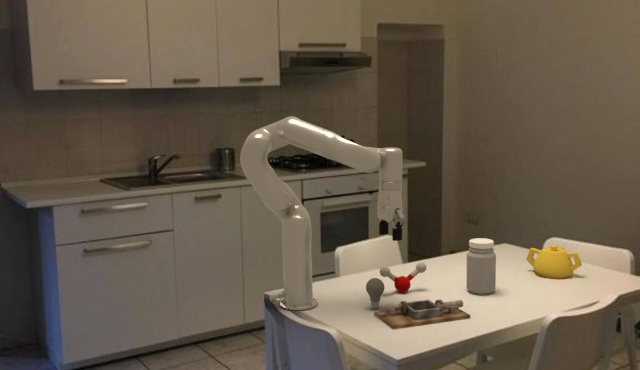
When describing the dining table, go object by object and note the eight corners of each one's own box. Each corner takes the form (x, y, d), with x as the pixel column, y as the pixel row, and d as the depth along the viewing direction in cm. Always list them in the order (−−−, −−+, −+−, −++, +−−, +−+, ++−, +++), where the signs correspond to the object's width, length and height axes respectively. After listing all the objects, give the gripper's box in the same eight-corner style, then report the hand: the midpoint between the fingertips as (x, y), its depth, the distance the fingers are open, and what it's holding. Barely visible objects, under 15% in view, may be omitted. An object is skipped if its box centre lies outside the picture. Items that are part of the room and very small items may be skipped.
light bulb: (379, 312, 226) (379, 281, 225) (362, 309, 229) (362, 279, 228) (387, 307, 231) (387, 277, 230) (371, 304, 234) (371, 274, 233)
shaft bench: (393, 329, 211) (392, 312, 210) (374, 315, 224) (374, 299, 223) (470, 318, 219) (470, 302, 218) (447, 305, 232) (447, 289, 231)
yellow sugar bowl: (587, 270, 270) (588, 242, 269) (576, 282, 255) (577, 252, 253) (534, 264, 281) (535, 237, 279) (520, 275, 266) (521, 246, 264)
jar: (461, 292, 246) (461, 241, 244) (475, 285, 253) (476, 236, 251) (486, 297, 239) (486, 245, 237) (500, 290, 247) (501, 240, 244)
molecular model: (385, 298, 241) (385, 269, 240) (376, 293, 246) (376, 265, 245) (428, 290, 249) (428, 262, 248) (418, 286, 254) (418, 258, 253)
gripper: (368, 183, 238) (368, 233, 240) (392, 190, 222) (391, 243, 224) (389, 181, 240) (388, 231, 243) (413, 188, 224) (413, 241, 227)
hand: (390, 237), depth 234 cm, fingers open, 9 cm apart
